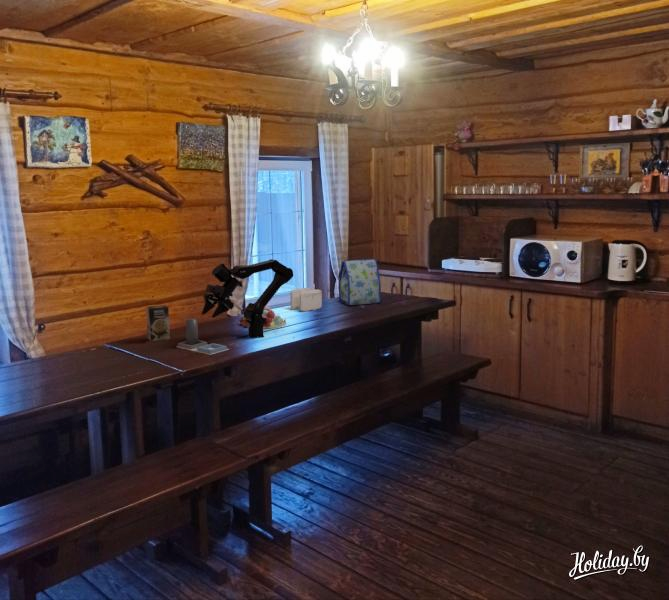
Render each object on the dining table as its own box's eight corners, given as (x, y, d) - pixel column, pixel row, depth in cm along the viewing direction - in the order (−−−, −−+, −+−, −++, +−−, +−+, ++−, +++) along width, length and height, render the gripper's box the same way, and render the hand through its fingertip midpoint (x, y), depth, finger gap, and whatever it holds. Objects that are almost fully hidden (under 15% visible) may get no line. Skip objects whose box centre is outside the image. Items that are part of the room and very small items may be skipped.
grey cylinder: (198, 344, 305) (197, 318, 303) (198, 346, 300) (197, 320, 298) (186, 344, 304) (185, 318, 302) (187, 347, 299) (185, 320, 297)
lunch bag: (369, 299, 416) (369, 256, 411) (382, 303, 401) (382, 259, 396) (336, 302, 406) (336, 259, 401) (349, 307, 391) (348, 262, 387)
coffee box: (150, 343, 312) (148, 308, 309) (147, 340, 318) (145, 306, 315) (170, 340, 316) (168, 306, 314) (167, 337, 322) (165, 304, 319)
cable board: (175, 348, 301) (175, 343, 301) (195, 343, 310) (194, 338, 309) (210, 356, 287) (210, 351, 287) (229, 351, 296) (229, 345, 295)
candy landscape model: (231, 327, 344) (230, 309, 342) (251, 318, 365) (250, 301, 364) (276, 330, 336) (276, 312, 334) (294, 321, 358) (293, 303, 356)
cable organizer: (311, 306, 394) (310, 287, 392) (322, 309, 386) (322, 289, 384) (290, 310, 385) (289, 290, 383) (301, 312, 377) (301, 292, 375)
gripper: (205, 275, 312) (185, 302, 307) (226, 279, 298) (205, 307, 293) (221, 290, 319) (201, 316, 314) (242, 295, 304) (222, 323, 300)
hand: (207, 315), depth 305 cm, fingers open, 9 cm apart
